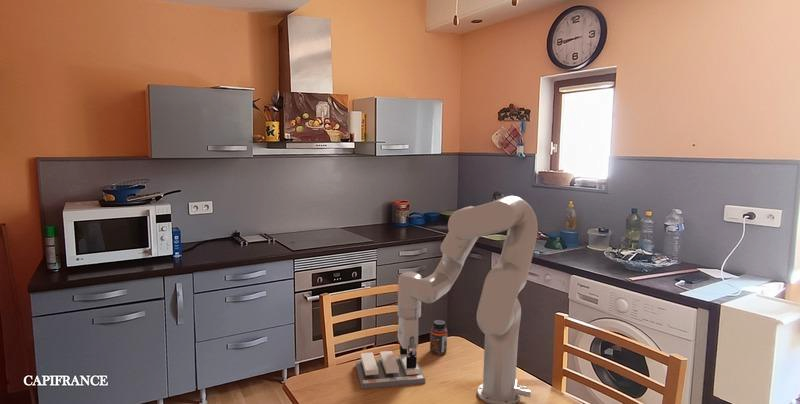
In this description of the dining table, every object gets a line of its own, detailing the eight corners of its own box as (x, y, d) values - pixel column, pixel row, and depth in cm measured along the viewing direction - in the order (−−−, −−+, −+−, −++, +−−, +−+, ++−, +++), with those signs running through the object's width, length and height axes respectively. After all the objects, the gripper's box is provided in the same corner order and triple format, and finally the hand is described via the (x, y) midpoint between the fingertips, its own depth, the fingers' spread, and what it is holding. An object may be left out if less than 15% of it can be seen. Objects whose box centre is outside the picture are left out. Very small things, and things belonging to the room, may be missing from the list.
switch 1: (372, 356, 165) (372, 352, 164) (378, 374, 153) (378, 369, 153) (360, 357, 164) (360, 353, 164) (365, 375, 152) (365, 370, 152)
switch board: (414, 361, 169) (414, 356, 168) (425, 383, 154) (425, 377, 154) (355, 365, 164) (355, 361, 164) (361, 388, 150) (361, 383, 150)
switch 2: (410, 356, 167) (410, 352, 167) (418, 373, 156) (418, 369, 156) (398, 357, 167) (398, 353, 166) (406, 374, 155) (406, 370, 155)
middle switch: (391, 355, 166) (391, 350, 166) (398, 372, 154) (398, 367, 154) (379, 356, 165) (380, 351, 165) (386, 373, 154) (386, 368, 153)
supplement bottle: (426, 353, 175) (427, 322, 173) (435, 347, 180) (436, 317, 178) (441, 357, 171) (442, 326, 170) (449, 351, 176) (450, 321, 175)
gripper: (392, 302, 166) (391, 349, 169) (403, 321, 149) (402, 374, 152) (414, 300, 168) (413, 348, 170) (427, 320, 151) (425, 372, 154)
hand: (407, 360), depth 161 cm, fingers open, 9 cm apart
